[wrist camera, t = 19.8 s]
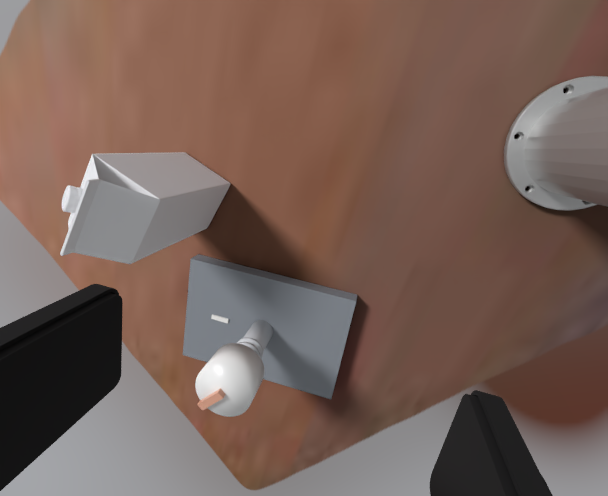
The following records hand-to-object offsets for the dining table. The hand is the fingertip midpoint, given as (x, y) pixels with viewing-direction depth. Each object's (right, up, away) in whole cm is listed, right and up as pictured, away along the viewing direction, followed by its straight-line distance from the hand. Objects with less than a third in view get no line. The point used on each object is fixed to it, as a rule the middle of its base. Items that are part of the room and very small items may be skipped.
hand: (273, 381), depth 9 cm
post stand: (-4, -7, +38) cm, 39 cm away
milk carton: (-13, +11, +35) cm, 39 cm away
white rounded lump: (-6, -10, +29) cm, 31 cm away
